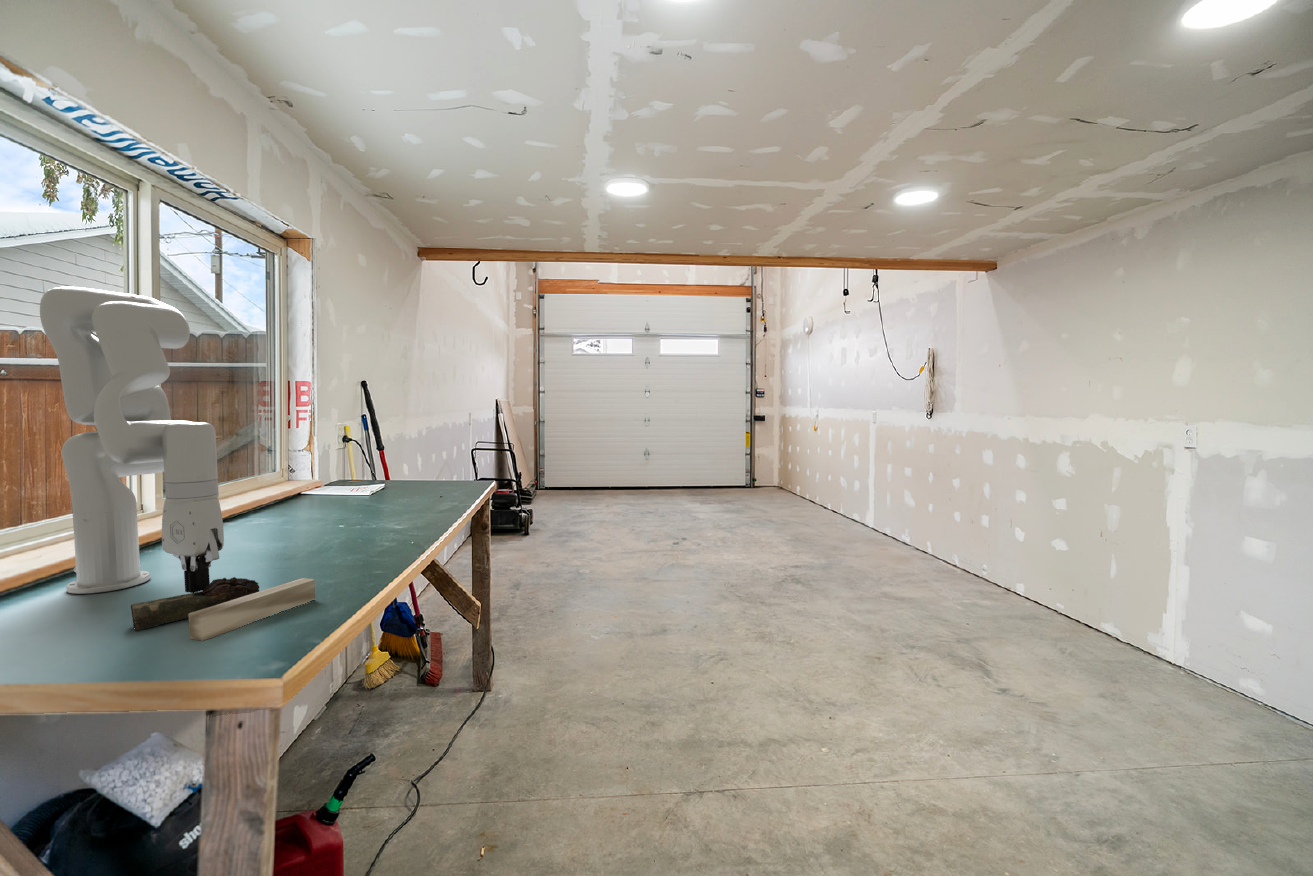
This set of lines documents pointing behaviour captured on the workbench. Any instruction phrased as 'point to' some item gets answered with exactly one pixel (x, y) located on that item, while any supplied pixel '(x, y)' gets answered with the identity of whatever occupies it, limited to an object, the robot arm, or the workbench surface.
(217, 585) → the brown long lumpy piece
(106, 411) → the robot arm
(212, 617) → the bar
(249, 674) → the workbench surface
